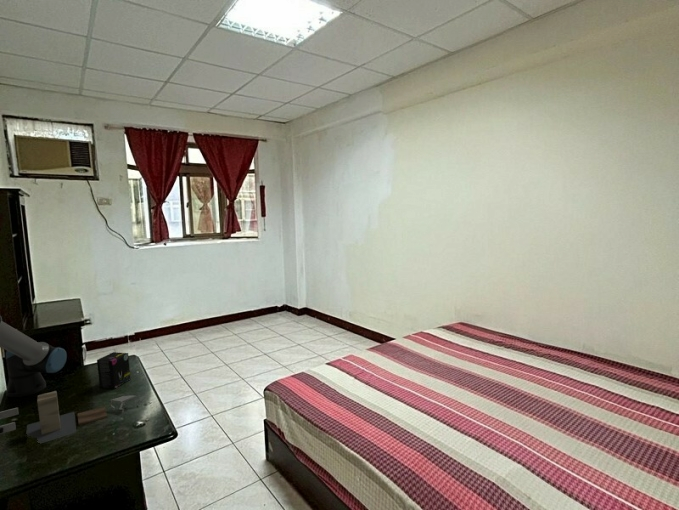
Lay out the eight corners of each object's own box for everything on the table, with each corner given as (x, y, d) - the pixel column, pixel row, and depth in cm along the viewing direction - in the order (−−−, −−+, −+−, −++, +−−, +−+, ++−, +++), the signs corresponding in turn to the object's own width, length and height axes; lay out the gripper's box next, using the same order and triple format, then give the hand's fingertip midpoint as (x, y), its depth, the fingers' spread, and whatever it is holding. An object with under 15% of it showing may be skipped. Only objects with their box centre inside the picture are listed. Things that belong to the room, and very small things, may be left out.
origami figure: (111, 417, 161) (110, 406, 160) (110, 408, 168) (109, 398, 167) (143, 408, 167) (142, 397, 167) (140, 400, 174) (139, 390, 174)
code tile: (27, 425, 156) (27, 424, 156) (74, 411, 166) (74, 411, 166) (24, 448, 140) (24, 448, 140) (76, 432, 150) (76, 432, 150)
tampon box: (115, 389, 186) (112, 360, 184) (99, 388, 188) (96, 359, 186) (131, 379, 197) (128, 352, 195) (116, 378, 199) (113, 351, 197)
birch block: (42, 427, 154) (37, 395, 152) (60, 422, 157) (56, 390, 155) (41, 434, 149) (37, 401, 147) (60, 429, 152) (56, 396, 151)
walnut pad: (77, 415, 162) (77, 413, 162) (104, 408, 168) (104, 405, 168) (78, 426, 154) (78, 423, 154) (107, 417, 160) (107, 415, 160)
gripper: (-53, 432, 144) (20, 413, 156) (-70, 467, 124) (15, 442, 137) (-55, 414, 143) (18, 396, 156) (-73, 445, 123) (12, 422, 136)
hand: (16, 418), depth 146 cm, fingers open, 13 cm apart
